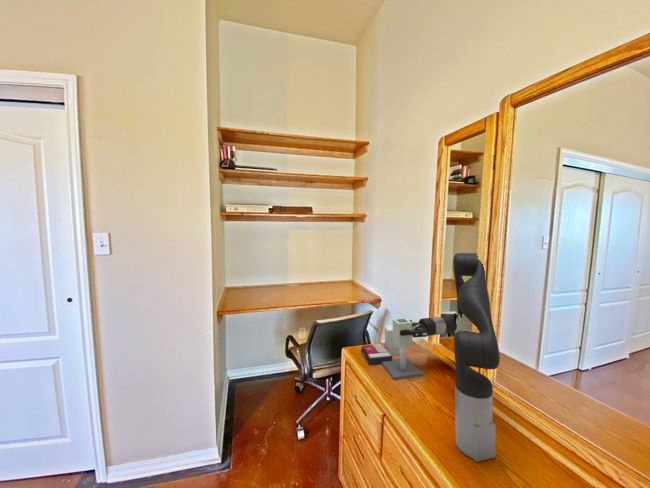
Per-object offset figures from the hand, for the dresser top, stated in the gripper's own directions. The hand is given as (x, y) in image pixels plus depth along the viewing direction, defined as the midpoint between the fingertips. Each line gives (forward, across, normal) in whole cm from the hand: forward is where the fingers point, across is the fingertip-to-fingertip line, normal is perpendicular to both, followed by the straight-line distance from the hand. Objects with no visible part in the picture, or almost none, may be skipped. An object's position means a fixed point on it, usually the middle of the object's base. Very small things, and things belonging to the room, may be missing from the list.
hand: (397, 330), depth 116 cm
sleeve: (-2, 0, +6) cm, 6 cm away
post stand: (-2, -2, +19) cm, 19 cm away
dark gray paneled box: (+4, -16, +20) cm, 25 cm away
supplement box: (-6, -18, +19) cm, 27 cm away
